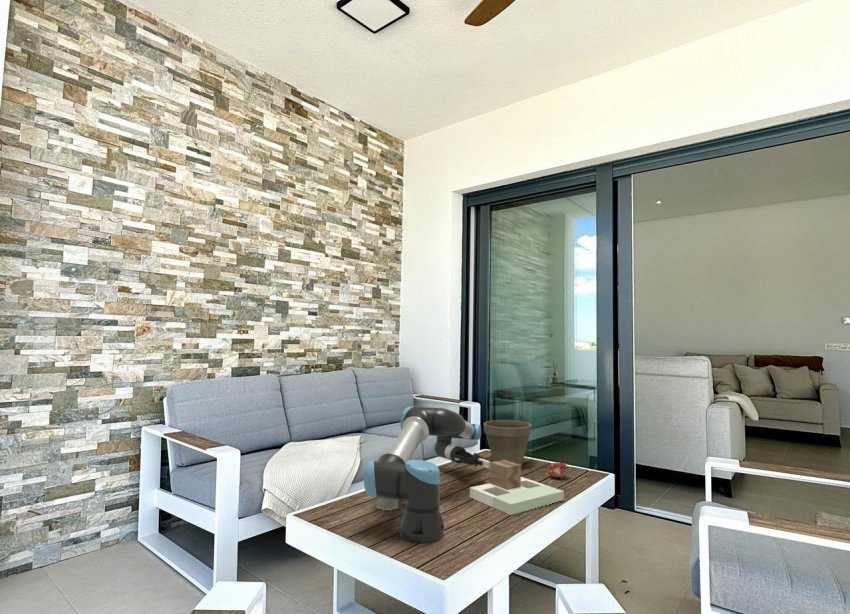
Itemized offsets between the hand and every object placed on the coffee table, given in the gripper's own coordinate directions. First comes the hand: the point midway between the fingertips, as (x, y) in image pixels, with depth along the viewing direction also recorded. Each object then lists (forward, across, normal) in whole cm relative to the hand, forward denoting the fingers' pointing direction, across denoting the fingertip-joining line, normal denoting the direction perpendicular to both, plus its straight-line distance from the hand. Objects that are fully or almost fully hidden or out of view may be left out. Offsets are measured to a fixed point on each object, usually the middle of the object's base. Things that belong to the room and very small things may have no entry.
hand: (488, 464), depth 214 cm
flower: (+5, -39, -10) cm, 41 cm away
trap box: (+17, 0, -10) cm, 20 cm away
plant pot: (-25, -35, -10) cm, 44 cm away
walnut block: (+10, 0, -6) cm, 12 cm away
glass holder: (-3, +47, -10) cm, 48 cm away
